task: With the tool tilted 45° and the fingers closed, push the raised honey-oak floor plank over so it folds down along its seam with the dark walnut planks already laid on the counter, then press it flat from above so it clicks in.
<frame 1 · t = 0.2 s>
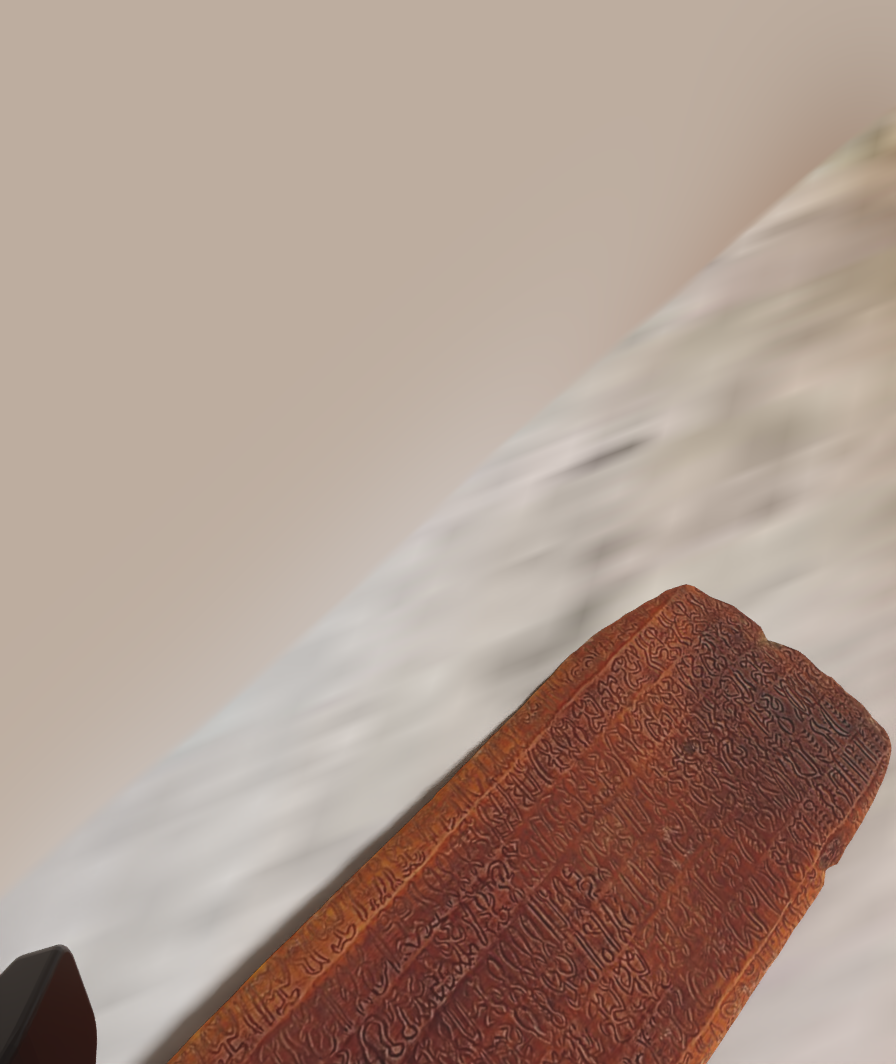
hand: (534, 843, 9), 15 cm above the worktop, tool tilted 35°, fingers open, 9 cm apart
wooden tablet: (495, 1002, 22), on the worktop
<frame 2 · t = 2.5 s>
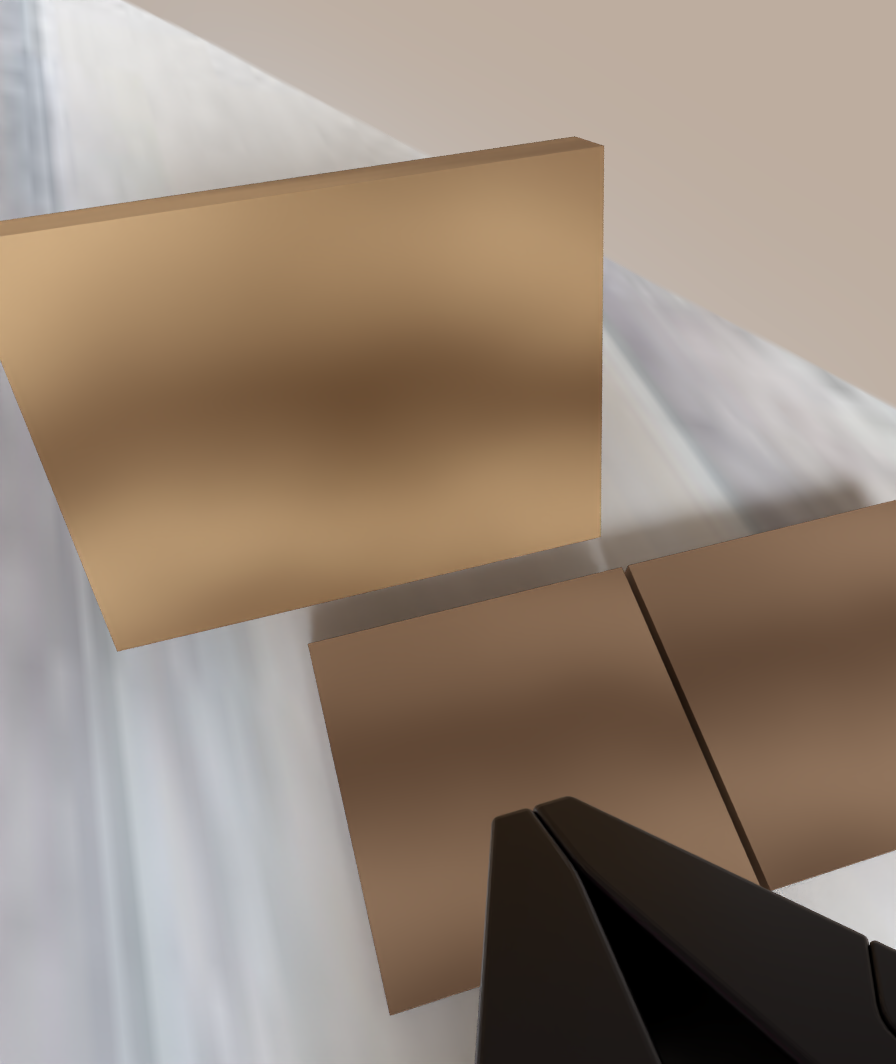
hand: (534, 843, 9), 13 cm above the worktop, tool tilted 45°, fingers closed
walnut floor: (375, 630, 24), on the worktop
oak plank: (335, 405, 20), point 6 cm above the worktop, hinge at 62.0°
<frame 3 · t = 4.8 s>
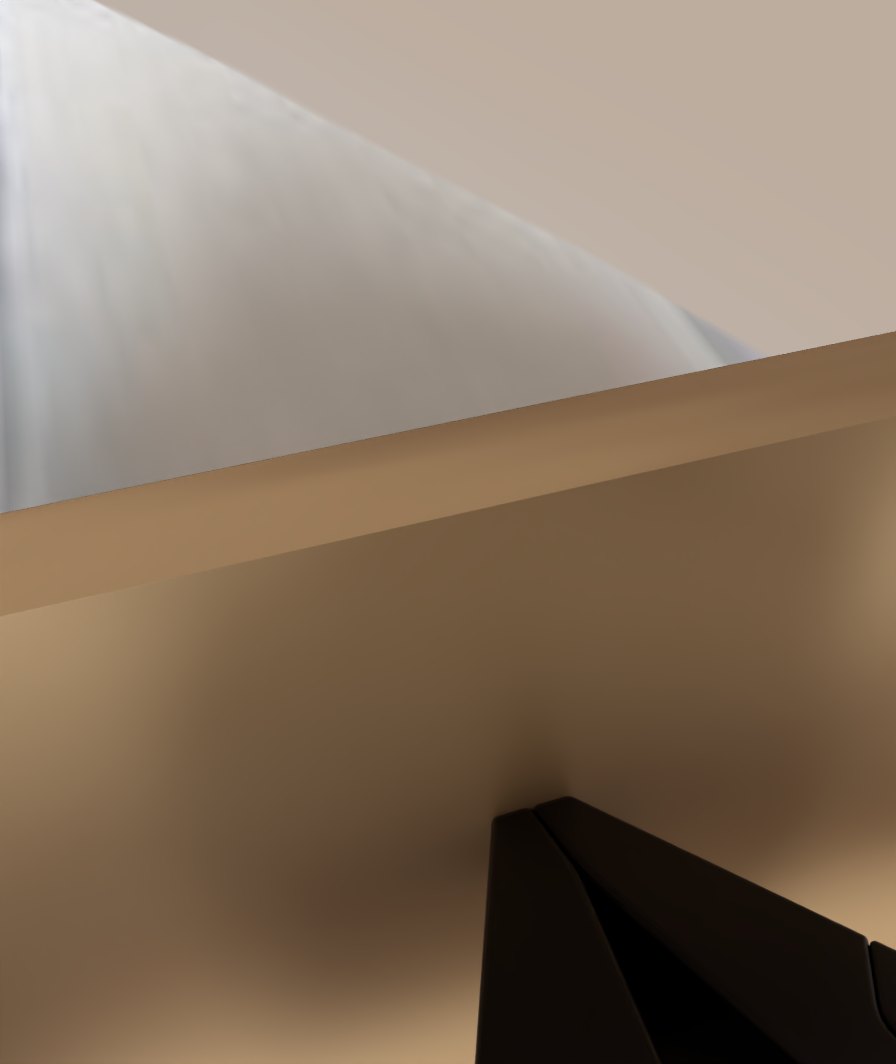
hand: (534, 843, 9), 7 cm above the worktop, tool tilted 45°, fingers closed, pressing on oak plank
oak plank: (514, 842, 10), point 6 cm above the worktop, hinge at 61.4°, touching gripper
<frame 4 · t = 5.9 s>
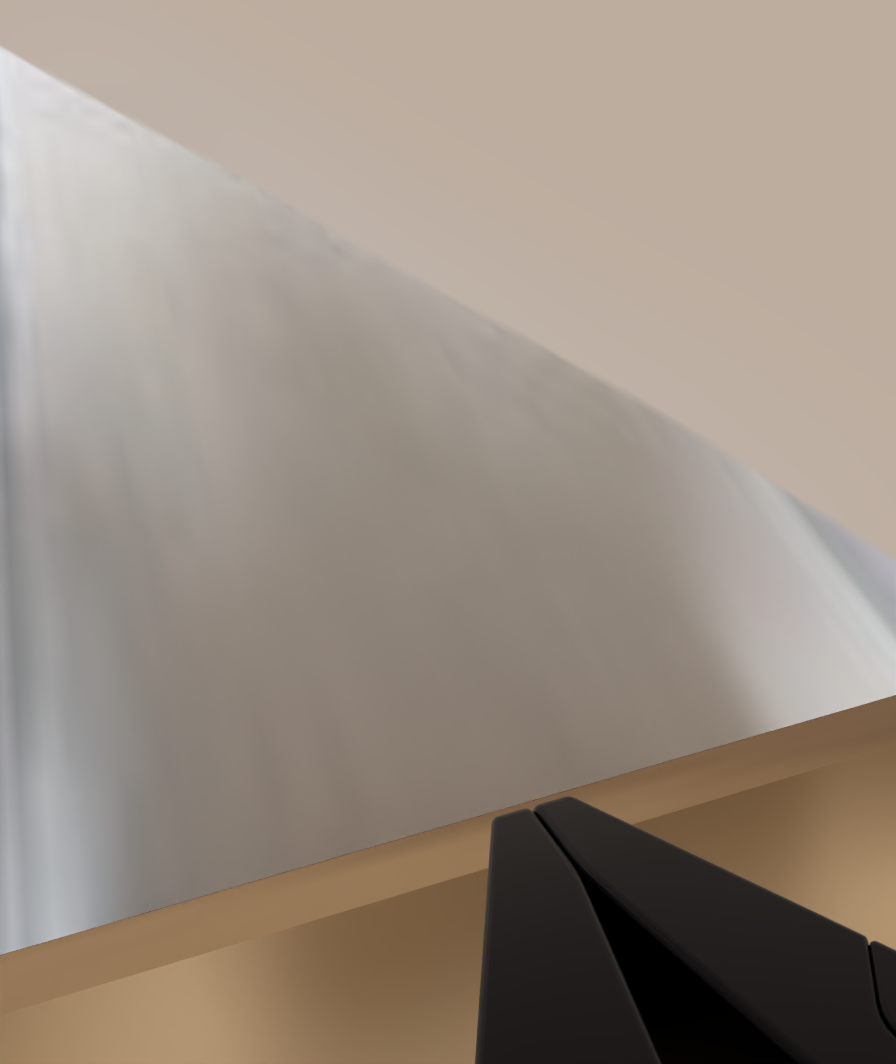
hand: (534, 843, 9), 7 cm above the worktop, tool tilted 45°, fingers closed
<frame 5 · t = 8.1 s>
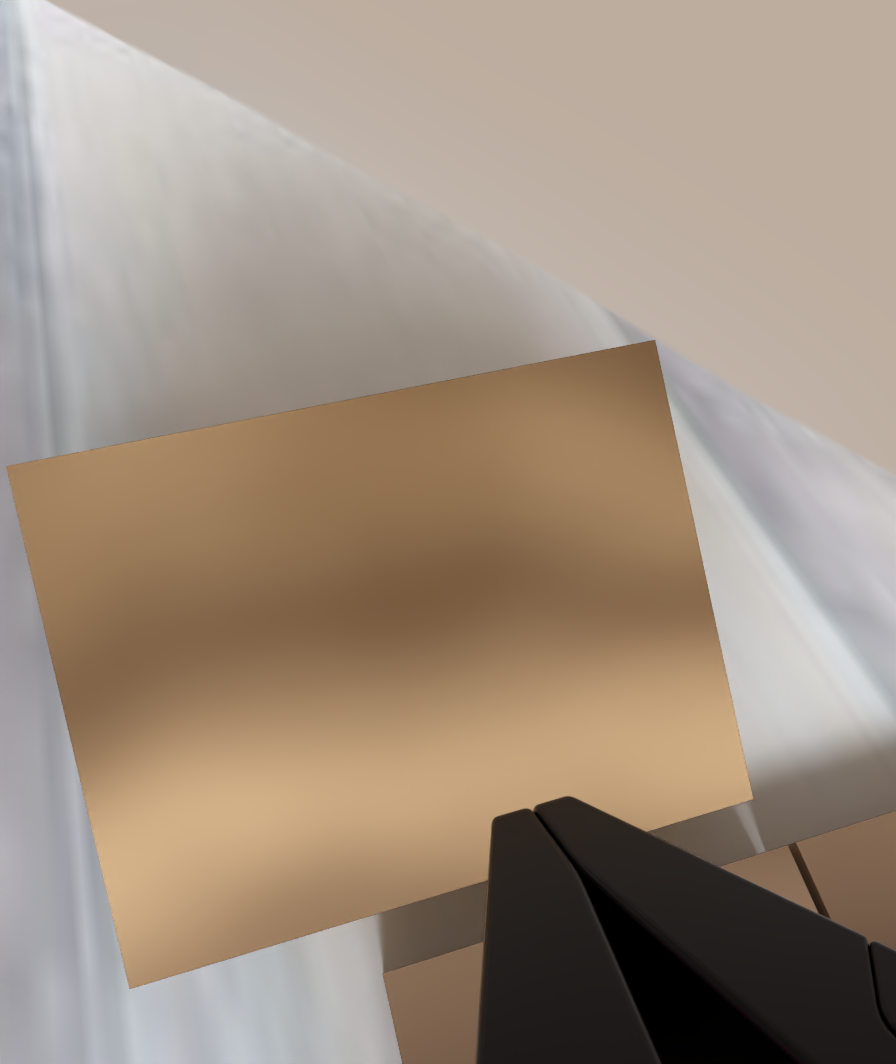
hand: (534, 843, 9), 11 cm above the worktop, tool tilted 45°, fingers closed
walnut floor: (462, 919, 18), on the worktop
oak plank: (402, 640, 18), point 4 cm above the worktop, hinge at 29.3°
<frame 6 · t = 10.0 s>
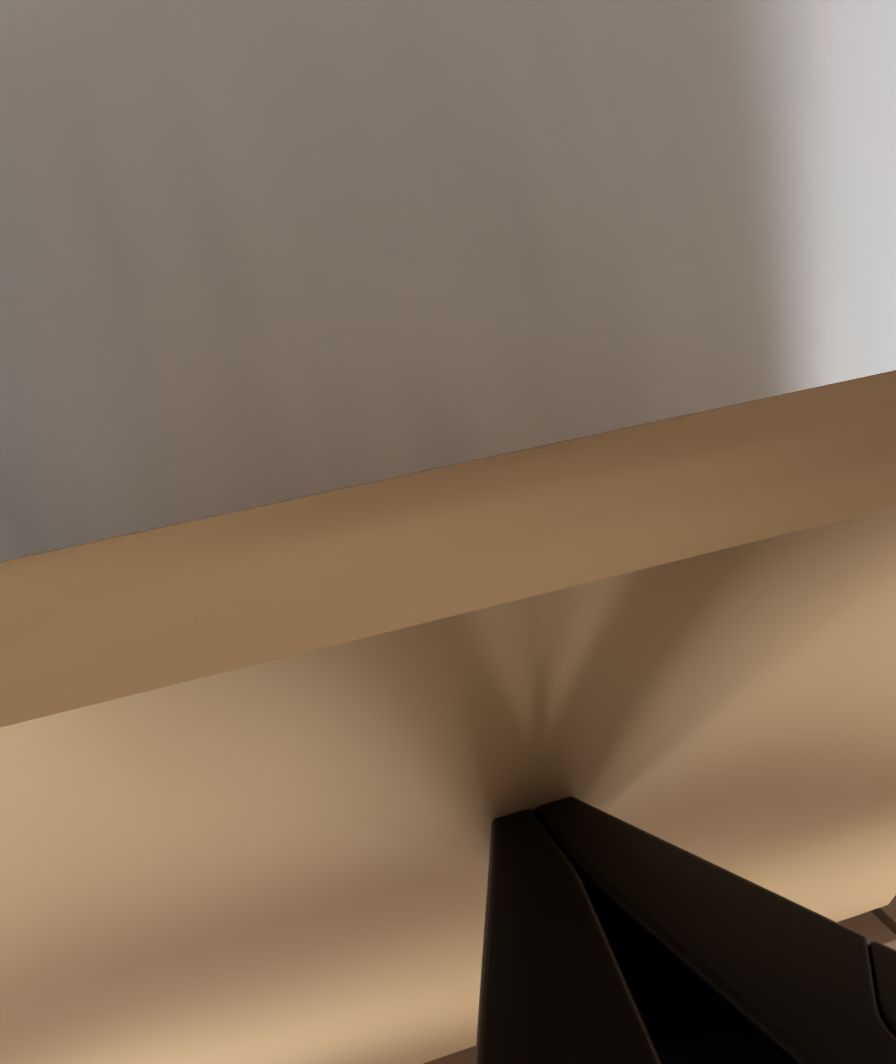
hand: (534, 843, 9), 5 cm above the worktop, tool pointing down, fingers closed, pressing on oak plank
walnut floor: (491, 967, 15), on the worktop
oak plank: (506, 826, 10), point 3 cm above the worktop, hinge at 28.2°, touching gripper
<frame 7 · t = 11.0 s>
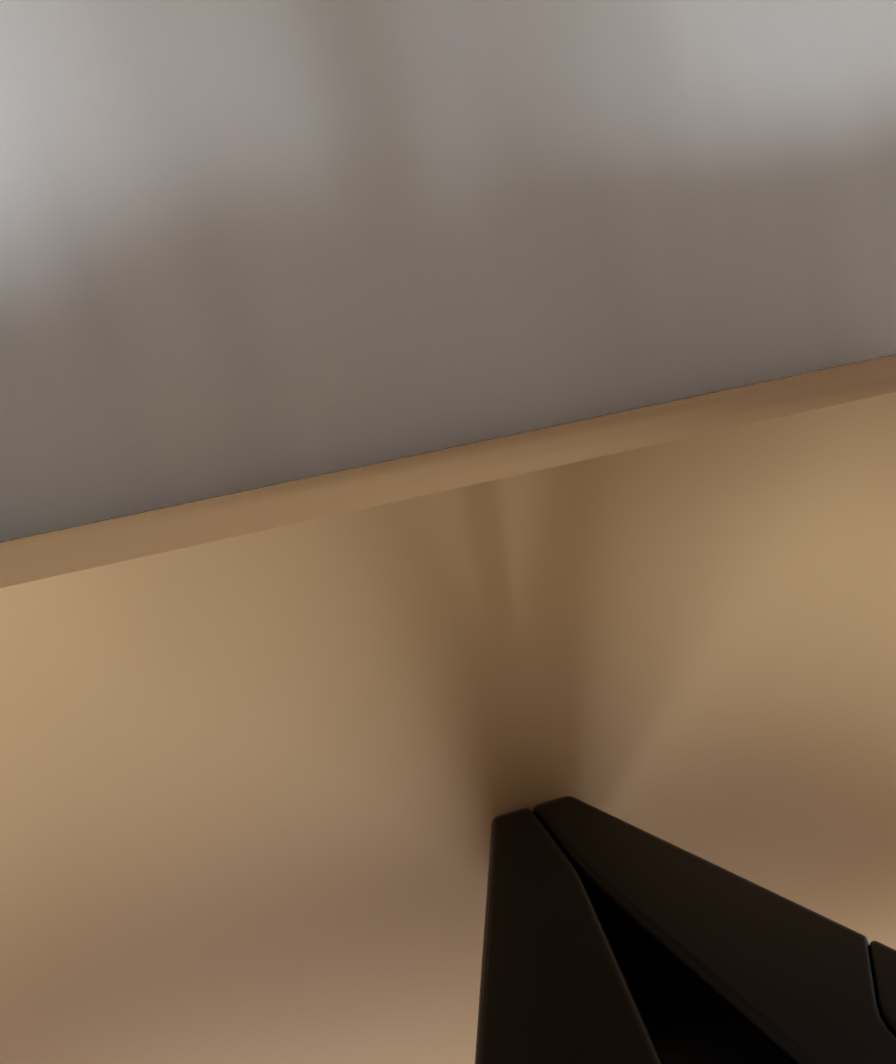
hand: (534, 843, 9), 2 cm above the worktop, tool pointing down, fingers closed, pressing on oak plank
oak plank: (525, 884, 10), point 1 cm above the worktop, hinge at 3.4°, touching gripper
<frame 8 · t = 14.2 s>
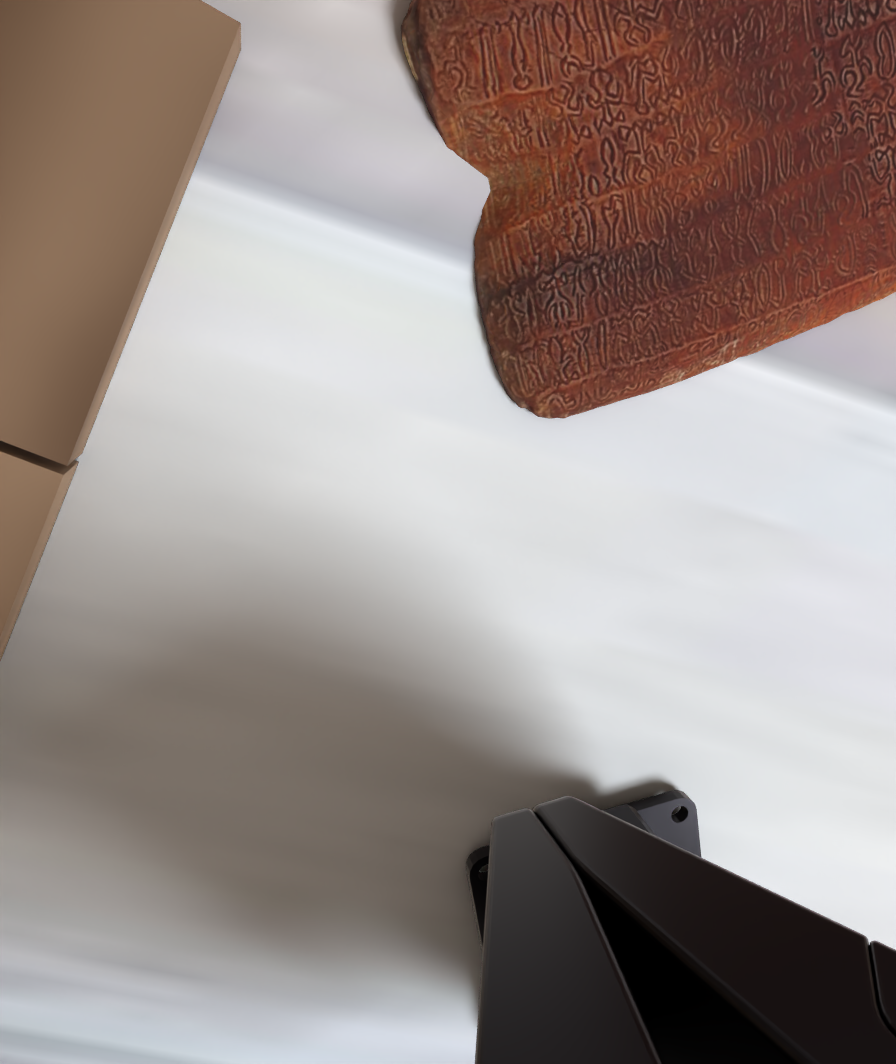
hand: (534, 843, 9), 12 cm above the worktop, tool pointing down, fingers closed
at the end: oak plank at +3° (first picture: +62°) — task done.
